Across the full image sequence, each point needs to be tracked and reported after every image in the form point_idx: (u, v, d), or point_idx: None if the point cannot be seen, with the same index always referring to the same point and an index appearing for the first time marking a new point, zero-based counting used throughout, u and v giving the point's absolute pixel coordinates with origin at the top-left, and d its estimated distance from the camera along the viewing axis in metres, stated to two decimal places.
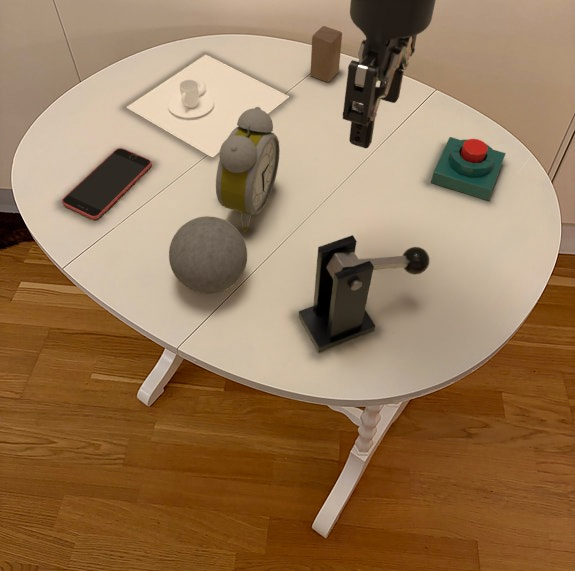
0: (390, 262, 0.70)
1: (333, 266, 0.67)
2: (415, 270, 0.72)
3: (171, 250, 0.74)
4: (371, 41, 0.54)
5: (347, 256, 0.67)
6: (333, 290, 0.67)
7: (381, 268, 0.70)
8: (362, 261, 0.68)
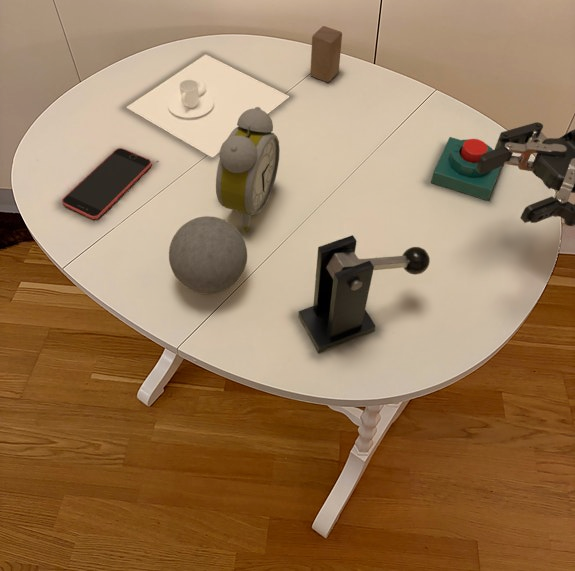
0: (390, 262, 0.70)
1: (333, 266, 0.67)
2: (415, 270, 0.72)
3: (171, 250, 0.74)
4: None
5: (347, 256, 0.67)
6: (333, 290, 0.67)
7: (381, 268, 0.70)
8: (362, 261, 0.68)
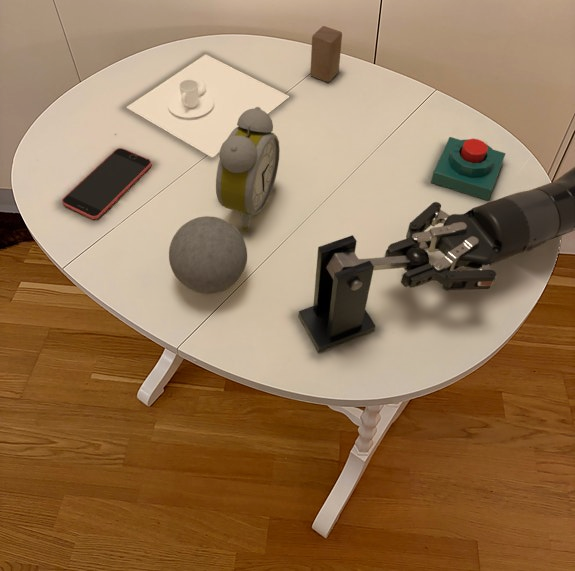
0: (390, 262, 0.70)
1: (333, 266, 0.67)
2: None
3: (171, 250, 0.74)
4: None
5: (347, 256, 0.67)
6: (333, 290, 0.67)
7: (381, 268, 0.70)
8: (362, 261, 0.68)
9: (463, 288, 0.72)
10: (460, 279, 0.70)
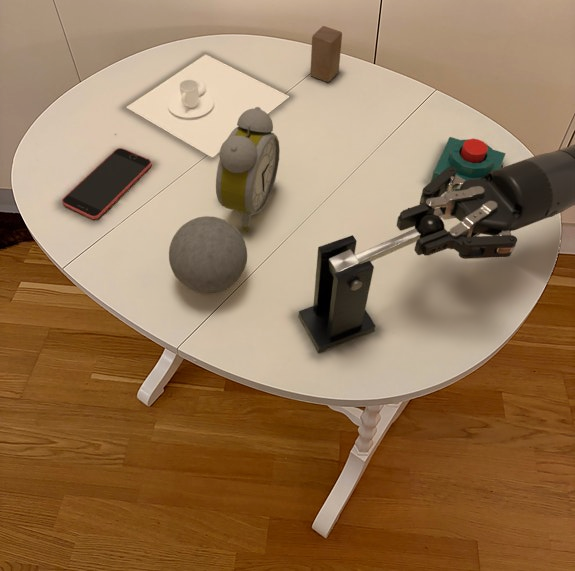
0: (395, 244, 0.67)
1: (332, 270, 0.67)
2: None
3: (171, 250, 0.74)
4: None
5: (342, 257, 0.66)
6: (333, 290, 0.67)
7: (388, 252, 0.68)
8: (362, 254, 0.67)
9: (481, 256, 0.67)
10: (478, 245, 0.65)
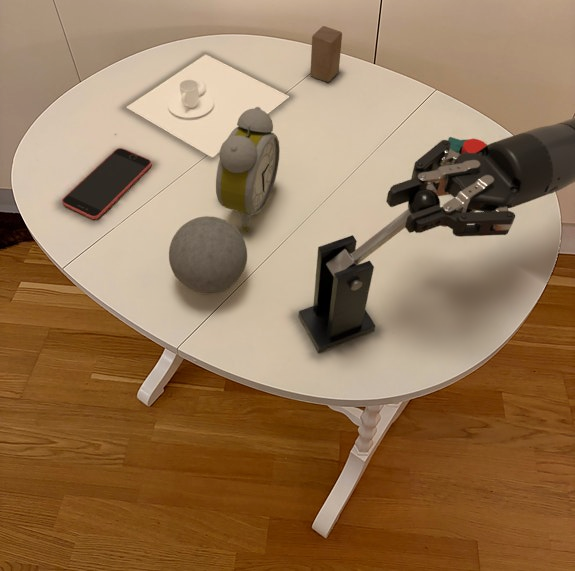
0: (389, 232, 0.65)
1: None
2: None
3: (171, 250, 0.74)
4: None
5: (338, 260, 0.66)
6: (333, 290, 0.67)
7: (385, 241, 0.66)
8: (359, 251, 0.66)
9: (477, 233, 0.63)
10: (473, 221, 0.61)
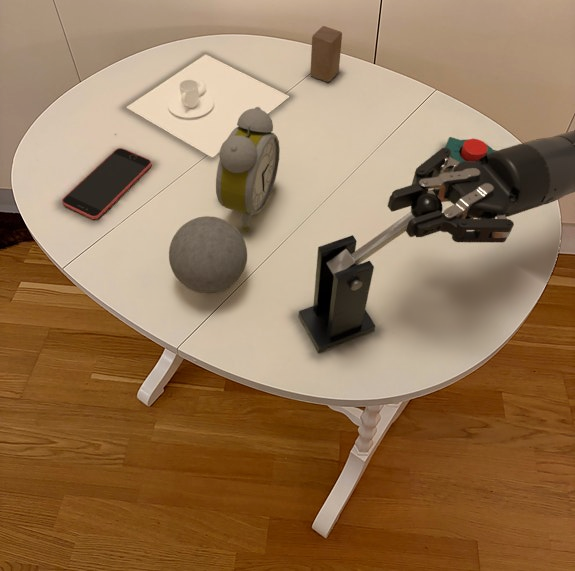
0: (391, 234, 0.65)
1: None
2: None
3: (171, 250, 0.74)
4: None
5: (339, 259, 0.66)
6: (333, 290, 0.67)
7: (386, 243, 0.66)
8: (360, 251, 0.66)
9: (475, 240, 0.64)
10: (473, 228, 0.62)
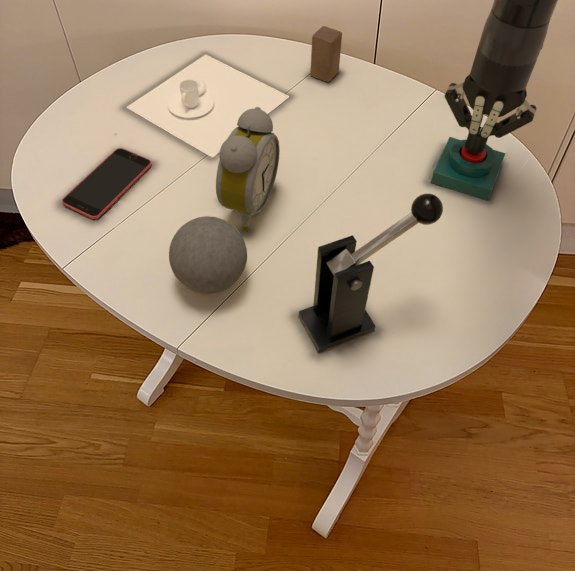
0: (391, 234, 0.66)
1: None
2: (427, 223, 0.65)
3: (171, 250, 0.74)
4: None
5: (339, 259, 0.66)
6: (333, 290, 0.67)
7: (386, 243, 0.66)
8: (360, 251, 0.66)
9: None
10: (507, 133, 0.84)
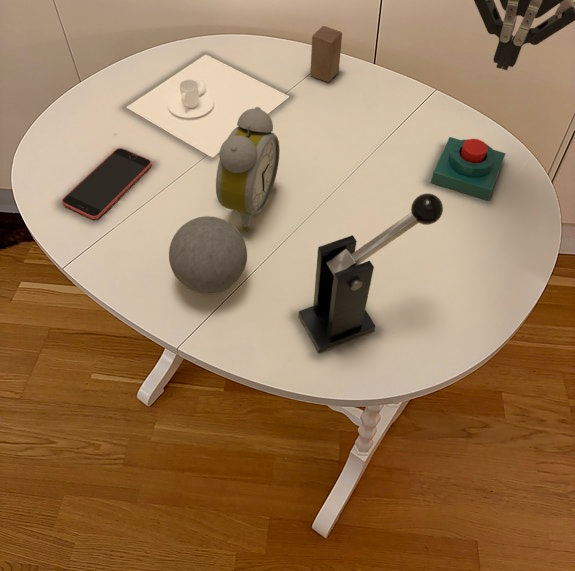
0: (391, 234, 0.66)
1: None
2: (427, 223, 0.65)
3: (171, 250, 0.74)
4: None
5: (339, 259, 0.66)
6: (333, 290, 0.67)
7: (386, 243, 0.66)
8: (360, 251, 0.66)
9: None
10: (544, 39, 0.72)
